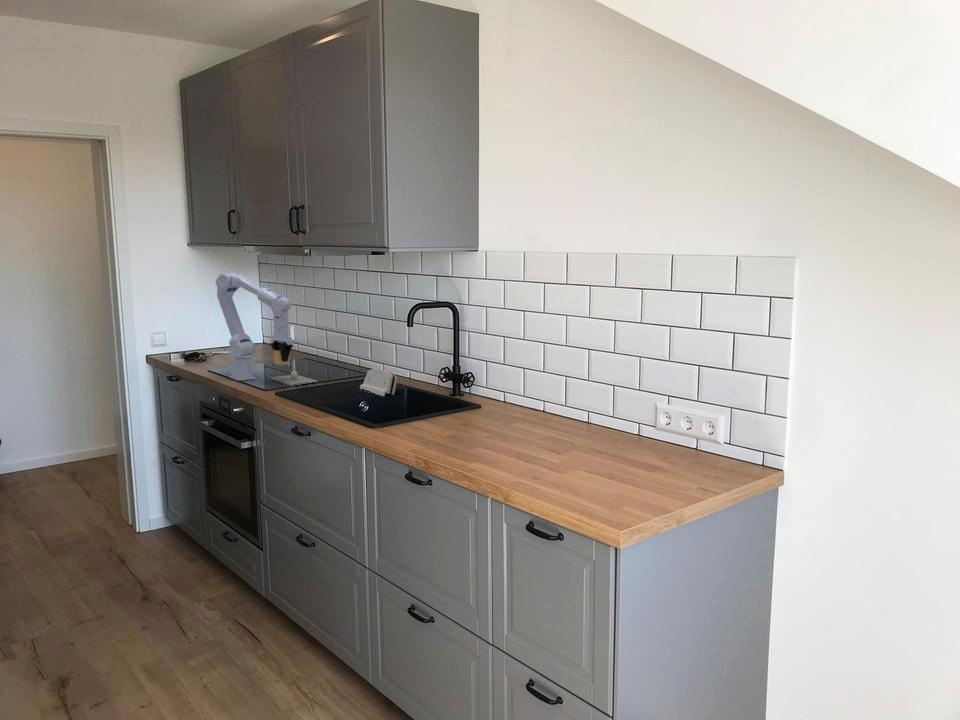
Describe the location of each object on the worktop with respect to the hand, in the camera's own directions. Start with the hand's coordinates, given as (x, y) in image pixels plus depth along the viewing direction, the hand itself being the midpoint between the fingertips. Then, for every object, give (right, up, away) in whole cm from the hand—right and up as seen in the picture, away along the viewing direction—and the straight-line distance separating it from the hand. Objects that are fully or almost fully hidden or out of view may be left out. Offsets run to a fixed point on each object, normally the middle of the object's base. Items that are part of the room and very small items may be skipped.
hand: (281, 360), depth 323 cm
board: (+4, -9, +4) cm, 10 cm away
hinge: (+41, -13, -13) cm, 45 cm away
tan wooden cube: (0, -1, 0) cm, 1 cm away
